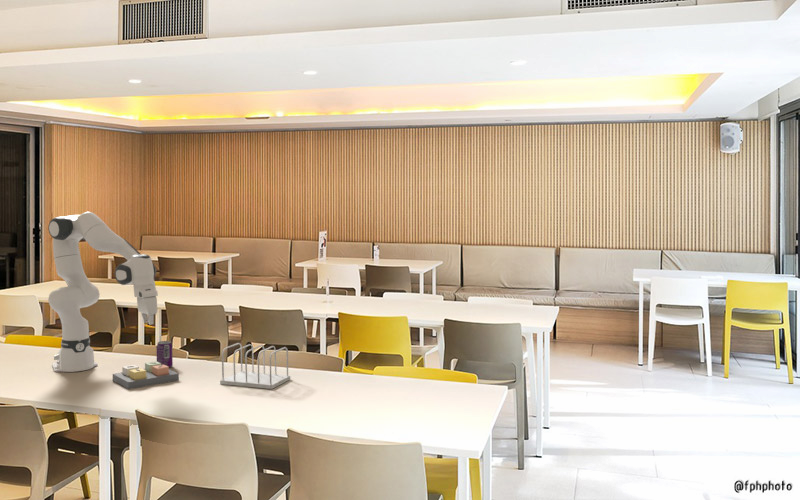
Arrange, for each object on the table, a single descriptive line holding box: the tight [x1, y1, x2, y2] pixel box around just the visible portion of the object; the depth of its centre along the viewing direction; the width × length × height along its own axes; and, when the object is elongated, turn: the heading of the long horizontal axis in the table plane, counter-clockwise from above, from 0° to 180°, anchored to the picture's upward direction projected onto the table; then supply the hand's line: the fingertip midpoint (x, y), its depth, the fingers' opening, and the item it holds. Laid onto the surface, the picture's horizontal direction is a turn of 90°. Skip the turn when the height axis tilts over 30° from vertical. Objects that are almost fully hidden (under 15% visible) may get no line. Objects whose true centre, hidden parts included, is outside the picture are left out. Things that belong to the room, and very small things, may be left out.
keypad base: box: [112, 368, 180, 390], centre depth 297 cm, size 18×22×3 cm
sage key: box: [144, 360, 161, 372], centre depth 303 cm, size 5×5×3 cm
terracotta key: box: [152, 365, 170, 376], centre depth 297 cm, size 5×5×3 cm
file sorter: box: [219, 342, 291, 390], centre depth 296 cm, size 25×17×16 cm
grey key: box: [121, 364, 140, 376], centre depth 296 cm, size 5×5×3 cm
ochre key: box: [129, 367, 146, 380], centre depth 290 cm, size 5×5×3 cm
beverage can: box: [156, 340, 174, 369], centre depth 320 cm, size 7×7×12 cm
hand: (148, 323), depth 293 cm, fingers open, 8 cm apart
